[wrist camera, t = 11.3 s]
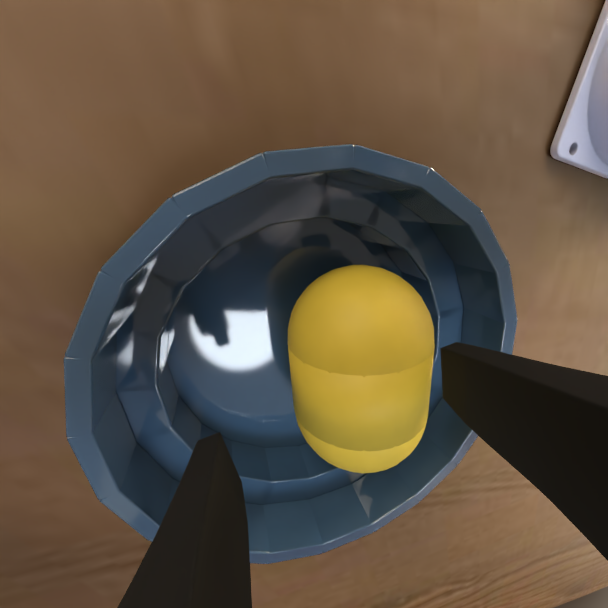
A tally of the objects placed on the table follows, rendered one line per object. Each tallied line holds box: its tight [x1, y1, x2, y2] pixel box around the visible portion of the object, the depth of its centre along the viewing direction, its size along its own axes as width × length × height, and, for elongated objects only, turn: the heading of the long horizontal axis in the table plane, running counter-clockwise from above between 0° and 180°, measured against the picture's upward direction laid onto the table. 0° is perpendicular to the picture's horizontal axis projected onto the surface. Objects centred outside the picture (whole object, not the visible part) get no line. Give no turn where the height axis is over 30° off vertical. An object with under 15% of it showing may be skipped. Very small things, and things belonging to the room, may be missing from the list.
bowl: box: [64, 144, 517, 564], centre depth 12 cm, size 15×15×4 cm
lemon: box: [288, 265, 435, 473], centre depth 11 cm, size 5×8×5 cm
